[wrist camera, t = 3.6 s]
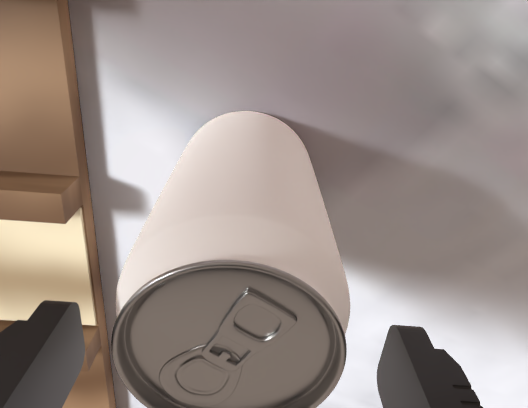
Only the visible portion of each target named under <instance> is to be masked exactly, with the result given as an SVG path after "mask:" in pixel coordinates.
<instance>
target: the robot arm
mask: <svg viewBox="0 0 528 408" xmlns="http://www.w3.org/2000/svg"><path fill="white" fill-rule="evenodd" d="M84 357H85V342H84V335H83V328H82V322H81V315H80V309H79V305H78V304H77V303H76V302H66V301H52V300H44V301H43V302H41V303H40V304H39V306H38V307H37V308H36V310H35V311H34V312H33V314H32V315H31V316H30V318H29V319H28V320H17V321H15V322H14V323H13V324H11V325H10V326H8V327H7V328H6V329H4V330H3V331H1V332H0V408H62V407H63V405H64V403H65V401H66V399H67V397H68V395H69V393H70V391H71V389H72V387H73V385H74V383H75V381H76V379H77V377H78V375H79V373H80V371H81V368H82V365H83V362H84ZM377 385H378V391H379V395H380V398H381V402H382V405H383V408H483V407H482V406H480V401H479V399H478V397H477V396H476V394H475V392H474V390H472V389H471V385H470V383H469V381H468V379H467V377H466V375H465V374H464V372H463V370H462V368H461V366H460V365H459V364H458V363H457V362H456V361H455V360H454V359H453V358H452V357H451V356H450V355H449V354H448V353H447V352H446V351H445V350H444V349H434V347H433V345H432V343H431V341H430V339H429V337H428V335H427V333H426V331H425V330H424V329H423V328H422V327H415V326H400V325H392V326H391V327H390V328H389V331H388V334H387V337H386V341H385V344H384V348H383V351H382V354H381V358H380V361H379V364H378V369H377Z"/></svg>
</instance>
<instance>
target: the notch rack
mask: <svg viewBox="0 0 528 408" xmlns="http://www.w3.org/2000/svg"><path fill="white" fill-rule="evenodd" d="M44 300H52V301H66V302H76V303H77V304H78V305H79V309H80V315H81V322H82V328H83V335H84V342H85V357H84V362H83V365H82V368H81V371H80V373H79V375H78V377H77V379H76V381H75V383H74V385H73V387H72V389H71V391H70V393H69V395H68V397H67V399H66V401H65V403H64V405H63V407H62V408H116V404H115V395H114V387H113V378H112V370H111V362H110V353H109V345H108V336H107V328H106V320H105V311H104V303H103V294H102V286H101V278H100V269H99V261H98V252H97V244H96V236H95V227H94V219H93V210H92V202H91V194H90V185H89V177H88V168H87V160H86V152H85V143H84V135H83V126H82V118H81V109H80V101H79V93H78V84H77V76H76V67H75V59H74V51H73V42H72V34H71V25H70V17H69V9H68V0H0V332H1V331H3V330H4V329H6V328H7V327H8V326H10V325H11V324H13V323H14V322H15V321H17V320H28V319H29V318H30V316H31V315H32V314H33V312H34V311H35V310H36V308H37V307H38V306H39V304H40V303H41V302H43V301H44Z"/></svg>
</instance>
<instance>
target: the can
mask: <svg viewBox="0 0 528 408" xmlns="http://www.w3.org/2000/svg"><path fill="white" fill-rule="evenodd" d="M116 314H117V319H116V322H115V325H114V328H113V332H112V340H111V350H112V357H113V361H114V365H115V368H116V370H117V372H118V374H119V376H120V378H121V380H122V382H123V383H124V385H125V386H126V387H127V389H128V390H129V391H130V392H131V393H132V394H133V396H134V397H135V398H136V399H137V400H139V401H140V402H141V403H142V404H143V405H145V406H146V407H147V408H316V407H317V406H318V405H320V404H321V403H322V402H323V401H324V400H325V399H326V398H327V397H328V396H329V395H330V393H331V392H332V391H333V389H334V388H335V386H336V385H337V383H338V381H339V379H340V377H341V375H342V372H343V369H344V366H345V361H346V339H345V333H346V330H347V326H348V322H349V316H350V297H349V289H348V284H347V280H346V276H345V272H344V268H343V265H342V261H341V258H340V254H339V251H338V248H337V244H336V241H335V238H334V234H333V231H332V228H331V224H330V221H329V218H328V215H327V211H326V208H325V205H324V202H323V198H322V195H321V192H320V189H319V185H318V182H317V179H316V176H315V173H314V170H313V167H312V164H311V161H310V158H309V155H308V152H307V150H306V148H305V146H304V144H303V142H302V141H301V139H300V138H299V137H298V135H297V134H296V133H295V132H294V131H293V130H292V129H291V128H290V127H289V126H288V125H286V124H285V123H283V122H282V121H280V120H279V119H277V118H275V117H272V116H270V115H267V114H264V113H260V112H254V111H237V112H231V113H227V114H223V115H221V116H218V117H216V118H214V119H212V120H211V121H209V122H207V123H206V124H205V125H203V126H202V127H201V128H200V129H199V130H198V131H197V132H196V133H195V134H194V136H193V137H192V138H191V140H190V141H189V143H188V145H187V146H186V148H185V150H184V152H183V153H182V155H181V157H180V159H179V161H178V162H177V164H176V166H175V168H174V170H173V172H172V174H171V175H170V177H169V179H168V181H167V183H166V185H165V187H164V188H163V190H162V192H161V194H160V196H159V198H158V200H157V202H156V203H155V205H154V207H153V209H152V211H151V213H150V215H149V217H148V219H147V221H146V222H145V224H144V226H143V228H142V230H141V232H140V234H139V236H138V238H137V240H136V242H135V244H134V246H133V248H132V249H131V251H130V254H129V256H128V258H127V260H126V262H125V264H124V267H123V269H122V272H121V275H120V278H119V281H118V285H117V291H116Z"/></svg>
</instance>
